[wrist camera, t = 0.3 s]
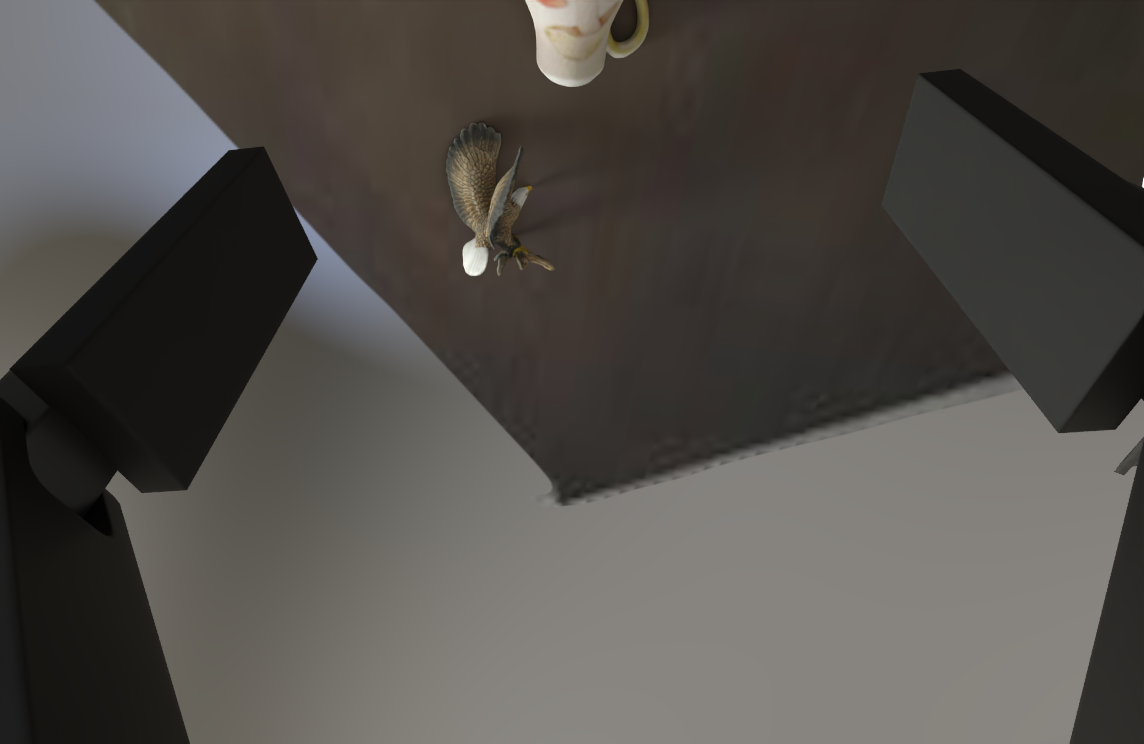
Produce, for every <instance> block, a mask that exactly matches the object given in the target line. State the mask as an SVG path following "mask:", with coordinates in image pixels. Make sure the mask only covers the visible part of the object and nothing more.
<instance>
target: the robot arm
mask: <svg viewBox="0 0 1144 744" xmlns="http://www.w3.org/2000/svg"><path fill="white" fill-rule="evenodd" d="M882 206H883V208H884V209H885V210H886V212H887V213H888V214H889V215H890V217H891V218H892V219H893V221H894V222H895V223H896V224H897V226H898V227H899V228H900V230H901V231H902V232H903V233H904V235H905V236H906V237H907V239H908V240H909V241H910V242H911V244H912V245H913V246H914V248H915V249H916V250H917V252H918V253H919V254H920V255H921V257H922V258H923V259H924V261H925V262H926V263H927V264H928V266H929V267H930V268H931V270H932V271H933V272H934V273H935V275H936V276H937V277H938V279H939V280H940V281H941V282H942V284H943V285H944V286H945V288H946V289H947V290H948V291H949V293H950V294H951V295H952V297H953V298H954V299H955V301H956V302H957V303H958V304H959V306H960V307H961V308H962V310H963V311H964V312H965V313H966V315H967V316H968V317H969V319H970V320H971V321H972V322H973V324H974V325H975V326H976V328H977V329H978V330H979V331H980V333H981V334H982V335H983V337H984V338H985V339H986V340H987V342H988V343H989V344H990V346H991V347H992V348H993V350H994V351H995V352H996V353H997V355H998V356H999V357H1000V359H1001V360H1002V361H1003V362H1004V364H1005V365H1006V366H1007V368H1008V369H1009V370H1010V371H1011V373H1012V374H1013V375H1014V377H1015V378H1016V379H1017V380H1018V382H1019V383H1020V384H1021V386H1022V387H1023V388H1024V389H1025V390H1026V392H1027V393H1028V395H1029V396H1030V397H1031V398H1032V400H1033V401H1034V402H1035V403H1036V405H1037V406H1038V407H1039V409H1040V410H1041V411H1042V412H1043V414H1044V415H1045V416H1046V418H1047V419H1048V420H1049V422H1050V423H1051V424H1052V426H1053V427H1054V428H1055V429H1056V431H1057V432H1058V433H1068V432H1083V431H1099V430H1115V429H1116V428H1117V427H1118V426H1119V425H1120V424H1121V422H1122V421H1123V420H1124V419H1125V418H1126V416H1127V415H1128V414H1129V413H1130V411H1131V410H1132V409H1133V408H1134V406H1135V405H1136V404H1137V403H1138V402H1139V400H1140V399H1141V398H1142V399H1143V401H1144V188H1143V187H1140V186H1138V185H1135V184H1132V183H1130V182H1127V181H1125V180H1124V179H1122V178H1121V177H1119V176H1118V175H1116V174H1115V173H1113V172H1112V171H1111V170H1109V169H1108V168H1106V167H1105V166H1103V165H1102V164H1100V163H1099V162H1097V161H1096V160H1094V159H1093V158H1091V157H1090V156H1088V155H1087V154H1085V153H1084V152H1082V151H1081V150H1079V149H1078V148H1076V147H1075V146H1074V145H1072V144H1071V143H1069V142H1068V141H1066V140H1065V139H1063V138H1062V137H1060V136H1059V135H1057V134H1056V133H1054V132H1053V131H1051V130H1050V129H1048V128H1047V127H1045V126H1044V125H1042V124H1041V123H1039V122H1038V121H1037V120H1035V119H1034V118H1032V117H1031V116H1029V115H1028V114H1026V113H1025V112H1023V111H1022V110H1020V109H1019V108H1017V107H1016V106H1014V105H1013V104H1011V103H1010V102H1008V101H1007V100H1005V99H1004V98H1002V97H1001V96H1000V95H998V94H997V93H995V92H994V91H992V90H991V89H989V88H988V87H986V86H985V85H983V84H982V83H980V82H979V81H977V80H976V79H974V78H973V77H971V76H970V75H968V74H967V73H965V72H964V71H962V70H961V69H955V70H946V71H937V72H928V73H919V74H918V77H917V80H916V84H915V87H914V91H913V95H912V98H911V102H910V105H909V109H908V112H907V116H906V120H905V123H904V127H903V130H902V134H901V137H900V141H899V145H898V148H897V152H896V155H895V159H894V162H893V166H892V169H891V173H890V177H889V180H888V184H887V187H886V191H885V194H884V198H883V202H882ZM316 261H317V256H316V254H315V252H314V250H313V248H312V246H311V244H310V242H309V240H308V237H307V235H306V233H305V231H304V229H303V227H302V225H301V223H300V221H299V219H298V217H297V215H296V212H295V210H294V208H293V206H292V204H291V202H290V200H289V198H288V196H287V194H286V192H285V190H284V187H283V185H282V183H281V181H280V179H279V177H278V175H277V173H276V171H275V169H274V167H273V165H272V162H271V160H270V158H269V156H268V154H267V152H266V150H265V148H264V146H263V147H254V148H246V149H237V150H229V151H228V152H227V153H226V154H225V155H224V156H223V157H222V158H221V159H220V160H219V161H218V162H217V163H216V164H215V165H214V166H213V167H212V168H211V169H210V170H209V171H208V172H207V173H206V174H205V175H204V176H203V177H202V178H201V179H200V180H199V181H198V182H197V183H196V184H195V185H194V186H193V187H192V188H191V189H190V190H189V191H188V192H187V193H186V194H185V195H184V196H183V197H182V198H181V199H180V200H179V201H178V202H177V203H176V204H175V205H174V206H173V207H172V208H171V209H170V210H169V211H168V212H167V213H166V214H165V215H164V216H163V217H162V218H160V220H158V222H156V224H154V225H153V226H152V227H151V228H150V229H149V230H148V232H147V233H146V234H144V236H143V237H141V238H140V239H139V240H138V242H136V243H135V244H134V245H133V246H132V247H131V248H130V250H128V252H126V253H125V254H124V255H123V256H122V258H120V259H119V260H118V261H117V263H115V265H113V266H112V267H111V268H110V269H109V270H108V271H107V272H106V273H105V274H104V275H103V277H101V278H100V279H99V280H98V281H97V282H96V283H95V284H94V285H93V286H92V287H91V288H90V289H89V290H88V291H87V292H86V293H85V294H84V295H83V296H82V297H81V298H80V299H79V300H78V301H77V302H76V303H75V304H74V305H73V306H72V307H71V308H70V309H69V310H68V311H67V312H66V313H65V314H64V315H63V316H62V317H61V318H60V319H59V320H58V321H57V322H56V323H55V324H54V325H53V326H52V327H51V328H50V329H49V330H48V331H47V332H46V333H45V334H44V335H43V336H42V337H41V338H40V339H39V340H38V341H37V342H36V343H35V344H34V345H33V346H32V347H31V348H30V349H29V350H28V351H27V352H26V353H25V354H24V355H23V356H22V357H21V358H20V359H19V360H18V361H17V362H16V363H15V364H14V365H13V366H12V367H11V368H10V371H9V372H8V373H7V374H6V375H5V376H4V377H3V378H2V379H1V380H0V744H190V743H189V739H188V736H187V732H186V729H185V725H184V722H183V719H182V715H181V712H180V708H179V705H178V702H177V698H176V695H175V691H174V688H173V684H172V681H171V677H170V674H169V671H168V667H167V664H166V661H165V657H164V654H163V650H162V647H161V643H160V640H159V636H158V633H157V630H156V626H155V623H154V619H153V616H152V613H151V609H150V606H149V602H148V599H147V595H146V592H145V589H144V585H143V582H142V578H141V575H140V572H139V568H138V564H137V561H136V558H135V555H134V551H133V548H132V544H131V541H130V538H129V534H128V530H127V527H126V523H125V520H124V517H123V513H122V510H121V507H120V503H119V502H118V501H117V500H116V498H115V497H114V496H113V495H112V494H111V493H109V492H108V491H107V490H106V489H105V488H106V486H107V485H108V483H109V482H110V480H111V479H112V477H113V476H114V475H115V473H116V472H117V470H118V471H119V472H120V473H121V474H122V475H123V476H124V477H125V478H126V479H127V480H128V481H129V482H131V483H132V484H133V485H134V486H135V487H136V488H137V489H138V490H139V491H140V492H141V493H148V492H164V491H180V490H187V489H188V487H189V485H190V484H191V482H192V480H193V478H194V477H195V475H196V473H197V471H198V469H199V468H200V466H201V464H202V462H203V461H204V459H205V457H206V455H207V454H208V452H209V450H210V448H211V446H212V445H213V443H214V441H215V439H216V438H217V436H218V434H219V432H220V431H221V429H222V427H223V425H224V424H225V422H226V420H227V418H228V417H229V415H230V413H231V411H232V409H233V408H234V406H235V404H236V402H237V401H238V399H239V397H240V395H241V393H242V392H243V390H244V388H245V386H246V385H247V383H248V381H249V379H250V378H251V376H252V374H253V372H254V371H255V369H256V367H257V365H258V363H259V362H260V360H261V358H262V356H263V355H264V353H265V351H266V349H267V348H268V346H269V344H270V342H271V341H272V338H273V337H274V335H275V333H276V332H277V330H278V328H279V326H280V325H281V323H282V321H283V319H284V318H285V316H286V314H287V312H288V310H289V309H290V307H291V305H292V303H293V302H294V300H295V298H296V296H297V295H298V293H299V291H300V289H301V287H302V286H303V284H304V282H305V280H306V279H307V277H308V275H309V273H310V272H311V270H312V268H313V266H314V265H315V263H316ZM1133 466H1137V470H1136V474H1135V478H1134V482H1133V486H1132V490H1131V494H1130V498H1129V503H1128V507H1127V511H1126V515H1125V519H1124V523H1123V527H1122V531H1121V535H1120V539H1119V543H1118V548H1117V551H1116V556H1115V560H1114V564H1113V568H1112V572H1111V576H1110V580H1109V584H1108V588H1107V592H1106V597H1105V601H1104V605H1103V609H1102V613H1101V617H1100V621H1099V626H1098V629H1097V633H1096V638H1095V642H1094V646H1093V650H1092V655H1091V658H1090V662H1089V666H1088V670H1087V674H1086V679H1085V683H1084V687H1083V691H1082V695H1081V699H1080V703H1079V708H1078V711H1077V715H1076V719H1075V724H1074V728H1073V732H1072V736H1071V740H1070V744H1144V437H1143V438H1142V439H1141V441H1140V442H1139V443H1138V444H1137V445H1136V446H1135V447H1134V449H1133V450H1132V451H1131V452H1130V453H1129V454H1128V455H1127V457H1126V458H1125V459H1124V460H1123V461H1122V462H1121V463H1120V465H1119V466H1118V467H1117V469H1116V470H1115V472H1117V473H1119V474H1122V475H1125V474H1126V473H1127V472H1128V470H1129V469H1130V468H1131V467H1133Z"/></svg>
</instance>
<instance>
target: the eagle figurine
mask: <svg viewBox="0 0 1144 744" xmlns="http://www.w3.org/2000/svg"><path fill="white" fill-rule="evenodd" d="M500 145H501V134H500V133H495V131H494V129H493V127H488V128H487V127H486V125H485V124H484V123H482V122H480V123H479V124H476V123H471V124H470V126H469V128H468V129H463V130H462V131H461V134H460V139H458V138H455V139H454V145H451V146H450V148H449V152H448V158H447V160H446V163H447V168H446V172H447V174H448V183H449V185H450V187H451V188H450V191H451V195H452V198H453V204H454V207H455V209H456V211H457V214H458V215H459V216H460V219H461V220H462V221H463V222H464V224H467V225H468V227H469V228H472V230H473V232H475V233H476V237H475V238H474V239H472V240H471V241H469V242H468V243H467V244H465V246H464V248H463V259H464V260H463V266H464V268H465V271H466V273H467V274H469V275H470V276H477V275H480V274H482V273H483V272H484V271H485V269H486V267H487V264H488V258H489V251H490V249H491V247H493V249H495V246H494V244H495V243H497V244H498V245H500V246H501V247H502V251H501V252H500V253H499V254H498V255H497V256H496V257H495V258H494V261H498V268H497V274H498V275H499V276H501V273H502V269H503V267H504V265H505V264H506V263H507V262H508V261H509V260H510V259H511V257H512V256H513V257H516V260H517V263H518V265H519V267H520V269H521V270H524V269H526V267H527V265H528V261H529V262H533V263H537V264H540V265H542V266H544V267H545V268H546V269H548V270H551V271H553V270H554V269H555V268H554V267H553V265H552V264H551V263H550V262H549V261H548V260H546V259H544V258H543V257H541V256H539V255H535V254H533V253H532V252H531V251H530V250H528V249H527V248H525V247H523V246H522V245H521V243H520V242H519V240H518V238H517V237H516V236H515V235H514V234H512V233H511V228H512V225H513V224H514V223H515V221H516V220H517V218H518V216H519V214H520V211H521V208H522V206H523V204H524V202H525V200H526V198H527V195H528V192H529V191H530V190H532V187H531V186H527V187H522V188H518V189H517V190H516V191H515V192H514V193H513V194H512V190H513V187H514V184H515V180H516V173H517V169H518V167H519V164H520V162H521V159H522V156H523V146H522V145H521V146H520V148H519V152H518V156H517V158H516V161H515V164H514V166H513V167H512V168H511V170H509V171H508V172H507V173H506V175H505V176H503V177H502V179H501V180H500V181H499V183H498V184H497V186H496V163H497V159H498V155H499V149H500ZM511 194H512V196H511Z"/></svg>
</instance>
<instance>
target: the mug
mask: <svg viewBox="0 0 1144 744" xmlns="http://www.w3.org/2000/svg"><path fill="white" fill-rule="evenodd" d="M525 1H526V3H527V5H528V8H529V10H530V12H531V15H532V18H533V20H534V26H535V31H536V43H537V63H538V66H539V68H540V70H541V71H542V72H543V73H544V74H545V75H546V76H547V77H548V78H549V79H550V80H551V81H553V82H555V83H557V84H560V85H563V86H567V87H577V86H582V85H585V84H587V83H589V82H590V81H591V80H593V79H594V78H595V77H596V76H597V75H598V74H599V73H600V72H601V71H602V69H603V67H604V63H605V56H606V52H608V53H609V54H610V55H611V56H613V57H614V58H623V57H626V56H628V55H629V54H631V53H632V52H634V51H635V50H636V49H638V48H639V46H640V45H641V44H642V42H643V41H644V39H645V37H646V34H647V31H648V28H649V6H648V1H647V0H635V2H636V7H637V26H636V30H635V32H634V34H633V35H632V36H631V37H630V38H629V39H627V40H625V41H622V42H616V41H615V40H614V39H613V37H612V33H611V30H610V27H611V24H612V22H613V20H614V18H615V16H616V14H617V12H618V10H619V8H620V6H621V4H622V2H623V0H525Z"/></svg>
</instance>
